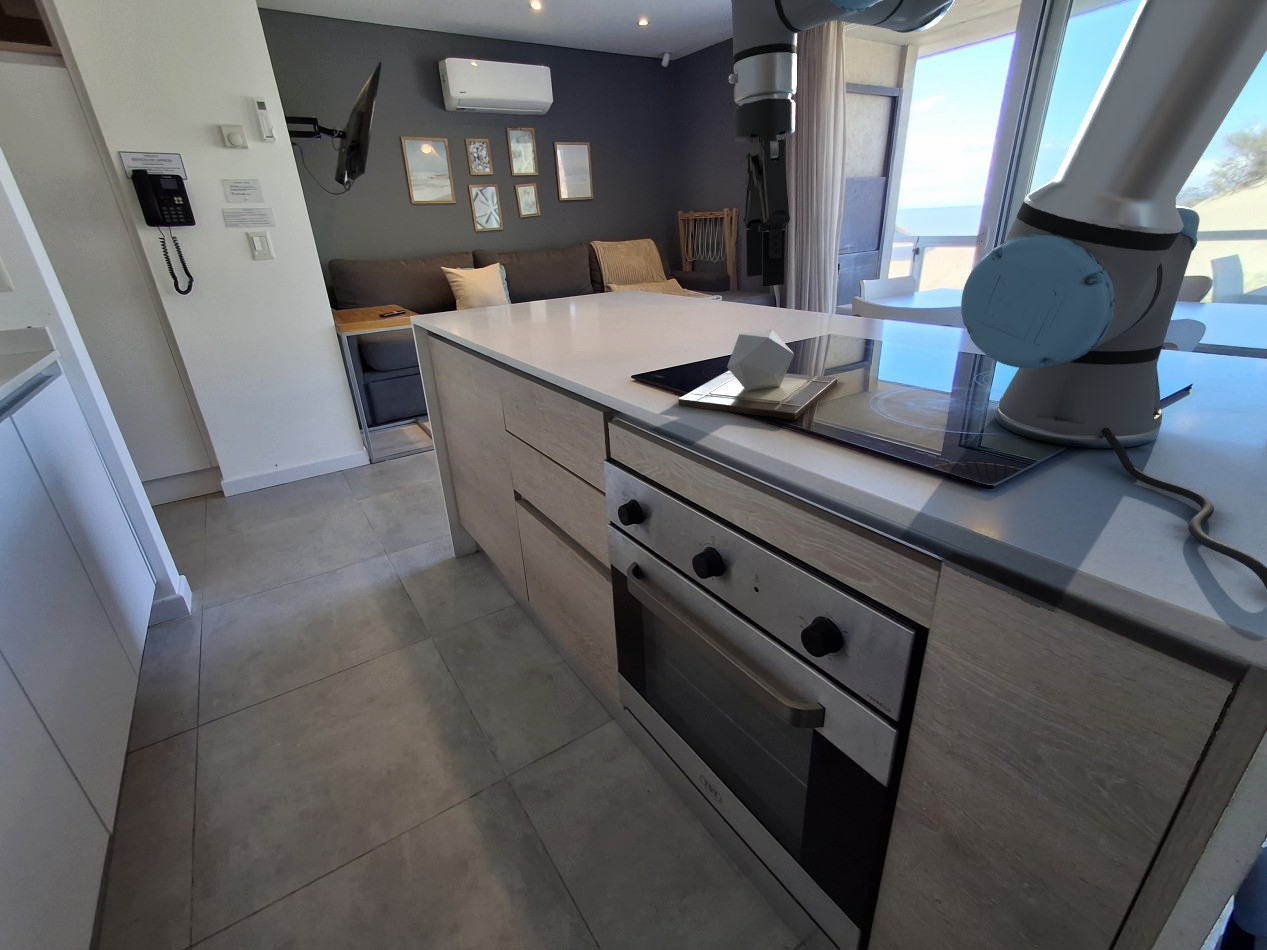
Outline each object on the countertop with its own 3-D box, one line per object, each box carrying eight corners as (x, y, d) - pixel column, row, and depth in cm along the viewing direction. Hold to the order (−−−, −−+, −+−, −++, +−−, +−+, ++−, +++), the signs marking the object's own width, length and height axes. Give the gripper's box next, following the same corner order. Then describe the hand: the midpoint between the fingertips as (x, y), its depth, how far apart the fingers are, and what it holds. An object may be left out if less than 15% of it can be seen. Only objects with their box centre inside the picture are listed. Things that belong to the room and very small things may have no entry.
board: (837, 383, 89) (837, 376, 88) (794, 420, 76) (795, 411, 75) (731, 374, 99) (731, 367, 98) (678, 405, 85) (678, 397, 85)
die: (785, 401, 81) (811, 337, 82) (730, 375, 80) (757, 310, 80) (762, 405, 90) (786, 347, 90) (712, 382, 88) (736, 323, 88)
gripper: (723, 121, 83) (726, 274, 91) (749, 84, 60) (750, 293, 69) (775, 115, 82) (773, 270, 91) (821, 76, 60) (813, 287, 68)
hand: (763, 280), depth 80 cm, fingers open, 13 cm apart
